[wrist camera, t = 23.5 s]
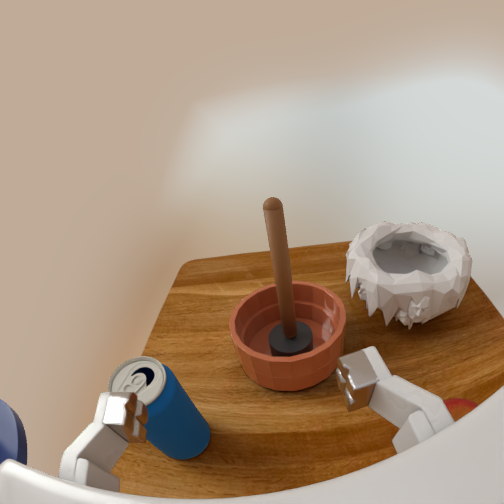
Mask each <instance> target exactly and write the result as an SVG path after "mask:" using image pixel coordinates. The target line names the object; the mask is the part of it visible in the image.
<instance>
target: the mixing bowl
mask: <svg viewBox="0 0 504 504" xmlns="http://www.w3.org/2000/svg"><path fill="white" fill-rule="evenodd" d="M292 285H293V294H294V303H295V313H296V321H300V322H303V323H305V324H307V325H308V326H309V327H310V328H311V330H312V333H313V350H312V351H310V352H307V353H303V354H299V355H295V356H291V357H273V356H272V354H271V350H270V345H269V339H268V337H269V333H270V331H271V330H272V329H273V328H274V327H275V326H276V325H278V324H280V323H281V317H280V310H279V304H278V297H277V291H276V284H275V283H274V284H270V285H267V286H265V287H262V288H260V289H257V290H255V291H253V292H252V293H250V294H249V295H248V296H246V297H245V298H243V299H242V300H241V301H240V303H239V304H238V305H237V306H236V307H235V309H234V310H233V312H232V315H231V318H230V320H229V327H230V335H231V339H232V342H233V344H234V347H235V350H236V353H237V356H238V359H239V362H240V365H241V366H242V368H243V370H244V372H245V373H246V375H247V376H248V377H249V378H251V379H252V380H253V381H255V382H256V383H257V384H259V385H261V386H264V387H267V388H270V389H273V390H277V391H296V390H300V389H304V388H308V387H312V386H314V385H316V384H318V383H319V382H321V381H323V380H324V379H326V378H328V377H329V376H330V375H331V373H332V372H333V371H334V370H335V369H336V368H337V367H338V366H337V363H336V362H337V358H338V357H340V356H342V355H343V352H344V342H345V330H346V312H345V306H344V305H343V303H342V302H341V300H340V298H339V297H338V296H337V295H336V294H334V293H333V292H332V291H331V290H329V289H328V288H326V287H323V286H321V285H318V284H315V283H310V282H304V281H292Z"/></svg>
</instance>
